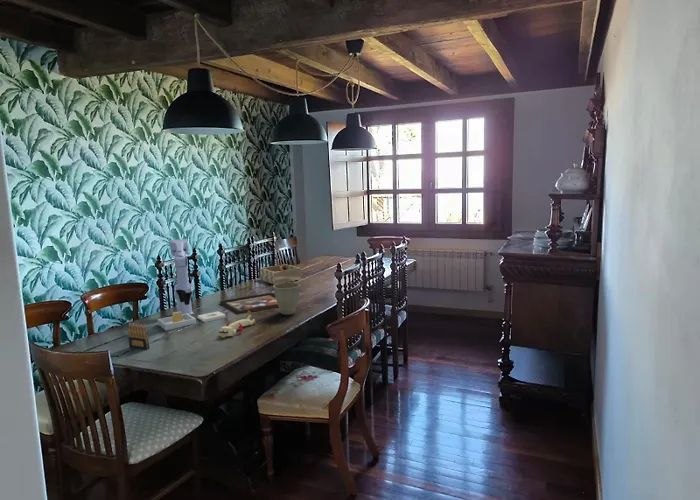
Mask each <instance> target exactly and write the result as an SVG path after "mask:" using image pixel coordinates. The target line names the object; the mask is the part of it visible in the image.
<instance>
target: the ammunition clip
mask: <svg viewBox="0 0 700 500" xmlns="http://www.w3.org/2000/svg"><path fill="white" fill-rule="evenodd" d="M128 345H129V348H131V349H137V350H145V351H147V350H149V349H150V344H149V337H148V332H147V328H146V325H145V323H143V324H142V323H136V322H130V321H129V322H128Z"/></svg>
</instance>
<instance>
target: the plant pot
mask: <svg viewBox="0 0 700 500" xmlns="http://www.w3.org/2000/svg"><path fill="white" fill-rule="evenodd" d="M272 288H273V293H274V294H275V297H276V301H277V304H278V306H279V307H278V309H279V311H280V313H281V315H293V314H295V312H296V309H297V305H298V301H299V297H300V288H301V284H300V283H298V282H287V283H279V284H276V285H274V284H273V287H272Z"/></svg>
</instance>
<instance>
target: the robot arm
mask: <svg viewBox="0 0 700 500" xmlns="http://www.w3.org/2000/svg"><path fill="white" fill-rule="evenodd" d="M169 249H170V254H171V256H173V257H174V267H175V271H176V273H175V274H176V281H177V282H176V284H175V285H174V287H173V290H174V291H173V292H174V299H175V300H176V310H177V311H176V312H179V311H180V312H182V314H187V313H188V314H189V315H194V314H195V312H193V308H192V298H193V297H194V295H193V294H194V292H193V287H192V284H191V283H190V282H189V271H188V268H189V267H188V266H189V264H188V256H186V255H188V252H189V243H188V239H187V238H185V239H184V238H183V239H182V238H181V239H170V240H169Z"/></svg>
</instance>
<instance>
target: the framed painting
mask: <svg viewBox="0 0 700 500" xmlns="http://www.w3.org/2000/svg"><path fill="white" fill-rule="evenodd" d="M219 304H220V305H221V306H222V307H225V308H226V309H228V310H230V311H231V312H233V313H234V314H236V315H240V314H241V315H242V314H246V313H247V312H248V311H250V312H251V313H255V312H256V313H257V312H260V311H266V310H270V309H277V308H279V306H278V304H277V301H276V297H275V293H274V292H268V293H260V294H255V295H250V296H249V295H248V296H247V295H246V296H243V297H242V296H241V297H237V298H231V299H224V300H220V301H219ZM247 314H248V313H247Z"/></svg>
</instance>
